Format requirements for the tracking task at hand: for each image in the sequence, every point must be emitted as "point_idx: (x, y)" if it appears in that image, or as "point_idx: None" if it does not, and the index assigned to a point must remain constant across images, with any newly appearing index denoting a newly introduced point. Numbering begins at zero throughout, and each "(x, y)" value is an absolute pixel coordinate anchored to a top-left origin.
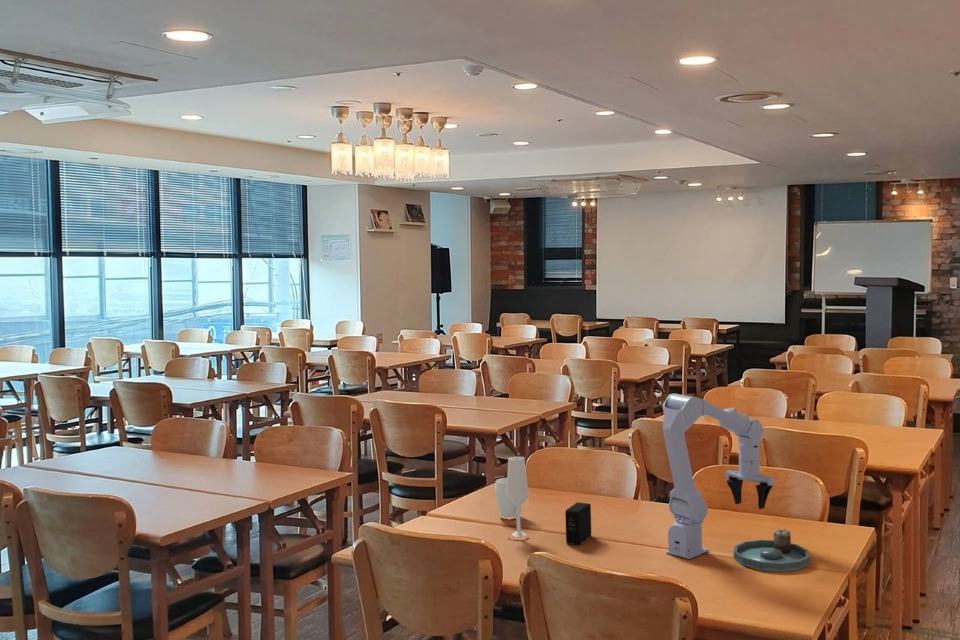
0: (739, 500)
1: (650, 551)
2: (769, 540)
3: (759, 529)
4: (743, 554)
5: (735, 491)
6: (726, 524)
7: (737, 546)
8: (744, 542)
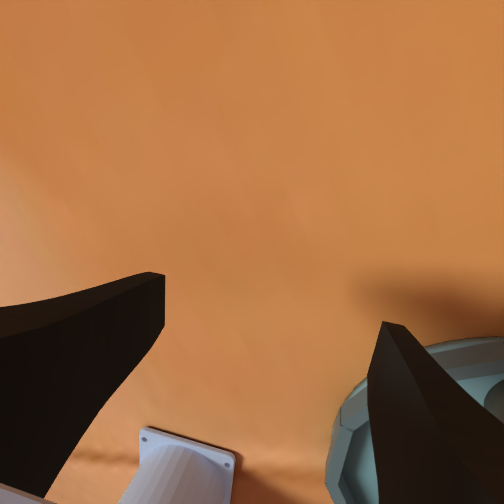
0: (151, 308)
1: (104, 493)
2: (451, 373)
3: (281, 60)
4: (371, 482)
5: (88, 422)
6: (101, 84)
7: (337, 483)
8: (345, 436)
